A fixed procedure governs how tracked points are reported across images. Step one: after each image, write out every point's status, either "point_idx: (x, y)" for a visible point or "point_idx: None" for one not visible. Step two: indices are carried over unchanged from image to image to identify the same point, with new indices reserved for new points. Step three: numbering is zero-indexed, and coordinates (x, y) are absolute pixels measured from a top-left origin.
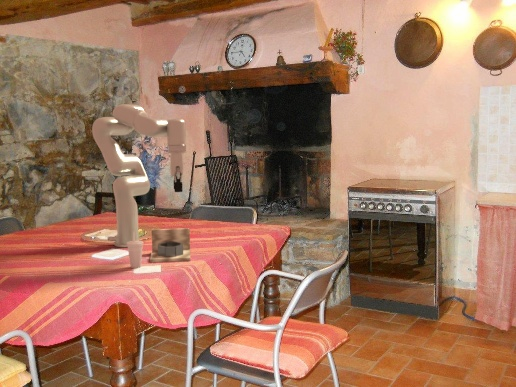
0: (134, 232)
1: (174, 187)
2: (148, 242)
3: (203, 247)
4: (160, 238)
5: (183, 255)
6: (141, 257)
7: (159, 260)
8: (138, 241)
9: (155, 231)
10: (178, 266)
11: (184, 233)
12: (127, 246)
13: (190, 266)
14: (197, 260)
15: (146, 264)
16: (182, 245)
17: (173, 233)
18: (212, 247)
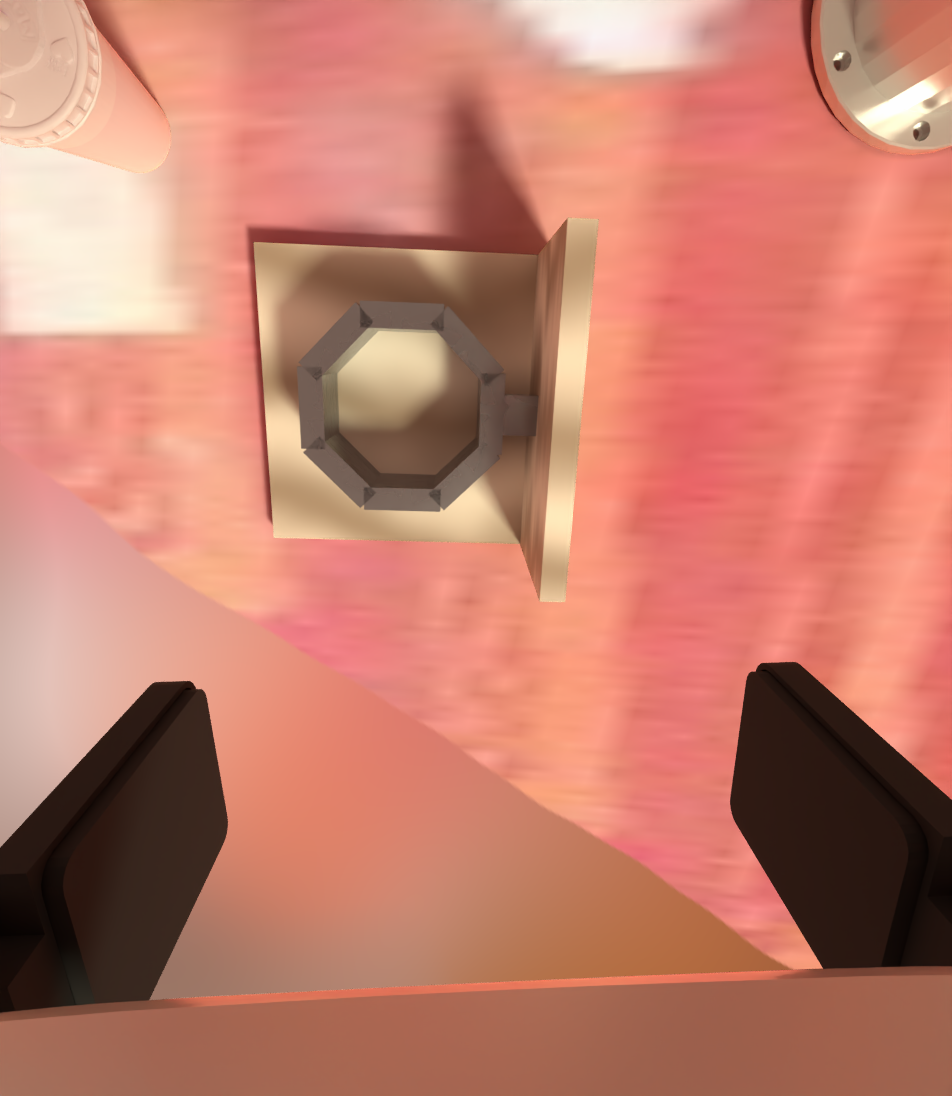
0: (946, 21)
1: (94, 747)
2: (947, 213)
3: (629, 627)
4: (546, 322)
5: (343, 494)
6: (93, 160)
7: (261, 318)
8: (53, 78)
9: (562, 265)
10: (136, 451)
11: (537, 543)
12: (816, 4)
13: (133, 526)
14: (281, 574)
15: (203, 218)
16: (358, 505)
17: (544, 448)
18: (613, 680)
